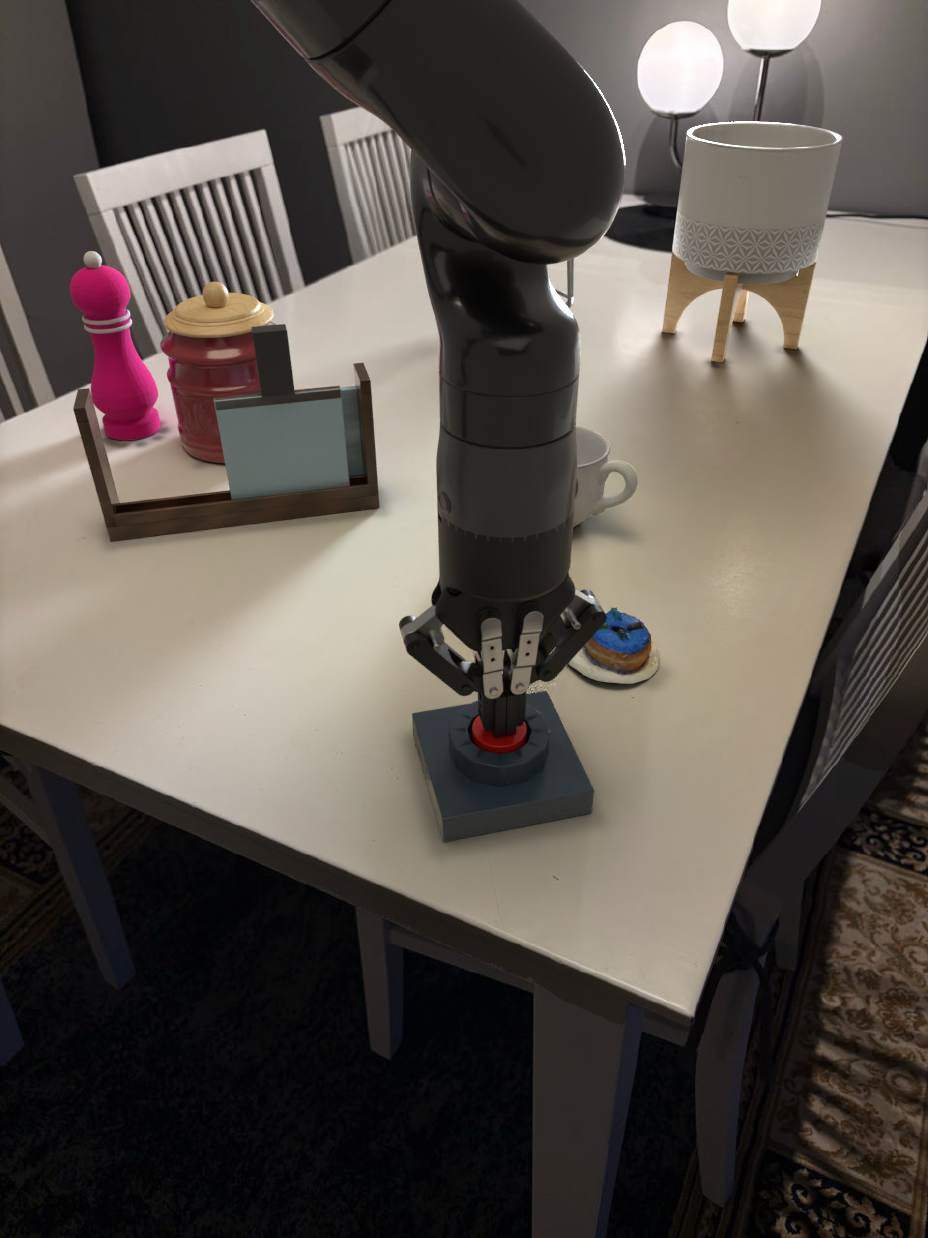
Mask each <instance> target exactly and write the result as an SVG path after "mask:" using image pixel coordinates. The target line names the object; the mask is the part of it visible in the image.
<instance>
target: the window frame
mask: <svg viewBox="0 0 928 1238" xmlns="http://www.w3.org/2000/svg"><path fill="white" fill-rule="evenodd" d="M353 376H354V385H349V386H340V388H341V395H342V406H343V417H344V428H345V439H346V450H347V461H348V472H349V483H350V486H344V487H335V488H327V489H319V490H310V491H302V492H293V493H285V494H277V495H268V496H260V497H251V498H243V499H235V500H232V498H231V493H230V489H229V490H227V489H226V490H218V491H212V492H202V493H195V494H194V493H193V494H185V495H176V496H168V497H167V496H166V497H160V498H150V499H142V500H135V501H134V500H133V501H126V502H121V501H120V499H119V498H120V497H119V494H118V491H117V487H116V484H115V480H114V476H113V473H112V468H111V464H110V460H109V456H108V454H107V449H106V446H105V442H104V438H103V434H102V430H101V426H100V423H99V419H98V416H97V411H96V407H95V405H94V404H93V400H92V396H91V388H89V387H88V388H87V387H86V388H78V389H77V391H76V396H75V400H74V403H73V408H72V409H73V414H74V417H75V421H76V424H77V428H78V432H79V435H80V438H81V442H82V445H83V449H84V453H85V457H86V460H87V463H88V468H89V470H90V474H91V478H92V481H93V485H94V489H95V491H96V496H97V499H98V503H99V506H100V509H101V513H102V517H103V520H104V525H105V528H106V531H107V535H108V539H109V541H110V542H116V541H123V540H131V539H132V540H133V539H140V538H147V537H154V536H155V537H156V536H164V535H171V534H181V533H187V532H195V531H196V532H197V531H204V530H211V529H213V530H214V529H220V528H227V527H228V528H229V527H237V526H246V525H252V524H253V525H254V524H260V523H270V522H277V521H284V520H285V521H286V520H292V519H301V518H309V517H317V516H324V515H334V514H341V513H342V514H343V513H348V512H358V511H366V510H373V509H380V508H381V505H380V493H379V480H378V465H377V463H378V462H377V450H376V438H375V437H376V435H375V422H374V421H375V420H374V408H373V407H374V406H373V394H372V380H371V377H370V375H369V373H368V370H367V367H366V366H365V362H356V363H355V362H354V363H353Z"/></svg>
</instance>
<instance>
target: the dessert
mask: <svg viewBox="0 0 928 1238" xmlns="http://www.w3.org/2000/svg"><path fill="white" fill-rule="evenodd" d="M618 609H619V608H618V607H611V608H610V609H609V610H608V611H607V612H605V613H606V615H607V620H606V622H605V623H604V624H603V625H602V627H601V628H600V629H599V630H598V631H597V632H596V633H595V634H594V635H593V636H592V638H591V639H590V640H589V641H588V642H587V643H586V644H585V645H584V646H583V648H582V649H581V650H580V651H579V652H578V653H577V654H576V655H575V656H574V658H573V659H572V660H571V661H570V662H569V663H568V664H567V665H569V666H570V667H572V668H573V669H575V670H576V671H578V672H579V673H581V674H582V675H583V676H584V677H587V678H588V679H591V680H594V681H596V682H605V683H614V684H623V685H624V684H627V685H629V684H636V683H639V682H642V681H646V680H649V679H650V678H651V677H652V676H653V675H655V674H656V672H658V671H657V670H658V669H659V667H660V652H659V649H658V646H657V645H656V644H655V642H654V641H653V640H652V634H651V633H650V631H649V629H648V627H647V626H646V625H645V623H644V622H643V621H642V620H640V618H638V617H636V616H634V615H631V614H628V613H626V612H621V611H619V610H618Z"/></svg>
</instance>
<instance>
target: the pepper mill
mask: <svg viewBox="0 0 928 1238" xmlns="http://www.w3.org/2000/svg"><path fill="white" fill-rule="evenodd" d="M83 263H84V265H85V266H84V267H83V268H80V269H79V270H78V271H76V272H75V273H74V274H73V275H72V278H71V281H70V285H69V293H70V298H71V302H72V303H73V304H74V306H75V307H76V308H77V309H78V310H79V311H80V312H82V313H83V314H82V315H81V320H82V322H83V323H84V324H83V329H84V330H85V331H87V332H88V333H89V336H90V338H91V341H92V345H93V352H94V353H93V354H94V362H93V369H92V375H91V380H90V393H91V396H92V400H93V404H94V408H95V409H97V410H98V411H99V412H100V413H102V414H104V415H103V417H102V419H101V420H102V425H103V429H104V432H105V434H106V436H108V437H109V438H111V439H112V440H117V441H136V440H140V439H144V438H149V437H150V436H152V435H154V434H156V433H157V432H158V431H159V430H160V428H161V427H162V423H161V419H160V414H159V411H158V410H157V408H155V407H154V406H155V405H156V402H157V401H158V398H159V390H158V386H157V383H156V381H155V379H154V376H153V375H152V372H151V371H150V370H149V368H148V367H147V365H146V364H145V363H144V361H143V360H142V359H141V357H140V355H139V353H138V352H137V349H136V347H135V345H134V342H133V340H132V336H131V335H132V334H131V329H130V327H131V326H132V324H133V320H132V319H131V310H129V309H128V308H127V306H128V305H129V303H130V300H131V289H130V286H129V283H128V281H127V279H126V278H125V276H124V275H123V274H122V273H121V272H120V271H118V270H117V269H116V268H114V267H112V266H108V265H102V263H103V260H102V256H101V255H100V253H98V252H97V251H94V250H89V251H87V252H85V253H84V255H83Z"/></svg>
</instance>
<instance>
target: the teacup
mask: <svg viewBox="0 0 928 1238" xmlns="http://www.w3.org/2000/svg"><path fill="white" fill-rule="evenodd" d="M576 442H577V456H578V464H577V478H578V493H577V495H576V498H575V509H574V522H573V528H574V527H577V526H578V525H580V524H582V522H584V521H586V520H588V519H589V518H591V517H592V516H593V515H601V514H602V513H604V512H605V510H606V509H609V508H613V507H617V506H619V505H621V504H624V503H626V502H627V501H628V500H630V499H631V498H632V497H633V496H634V494H635V493H636V490H637V488H638V484H639V482H638V481H639V480H638V475H637V472H636V470H635V468H634V467H633V466H632V465H631V464H630V463H628V462H627V461H624V460H620V459H613V460H610V461H609V456H610V452H611V444H610V441H609V440H608V439H607V438H606V437H605V436H603V435H602V434H600V433H599V432H597V431H595V430H593V429H590V428H587V427H584V426H580V425H576ZM611 473H617V474H619V475H621V476H622V478H623V479H624V483H625V487H624V489H623V490H622V491H621V492H619V493H618V494H616V495H612V496H605V497H604V493H605V488H606V482H607V480H608V477H609V476H610V474H611Z"/></svg>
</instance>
